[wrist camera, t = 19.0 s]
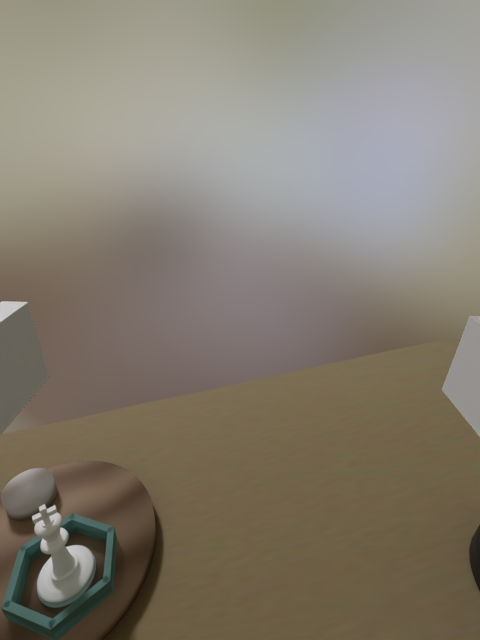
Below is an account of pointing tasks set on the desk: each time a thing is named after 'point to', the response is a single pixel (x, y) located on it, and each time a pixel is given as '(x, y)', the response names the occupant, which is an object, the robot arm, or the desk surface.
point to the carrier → (83, 529)
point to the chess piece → (61, 562)
